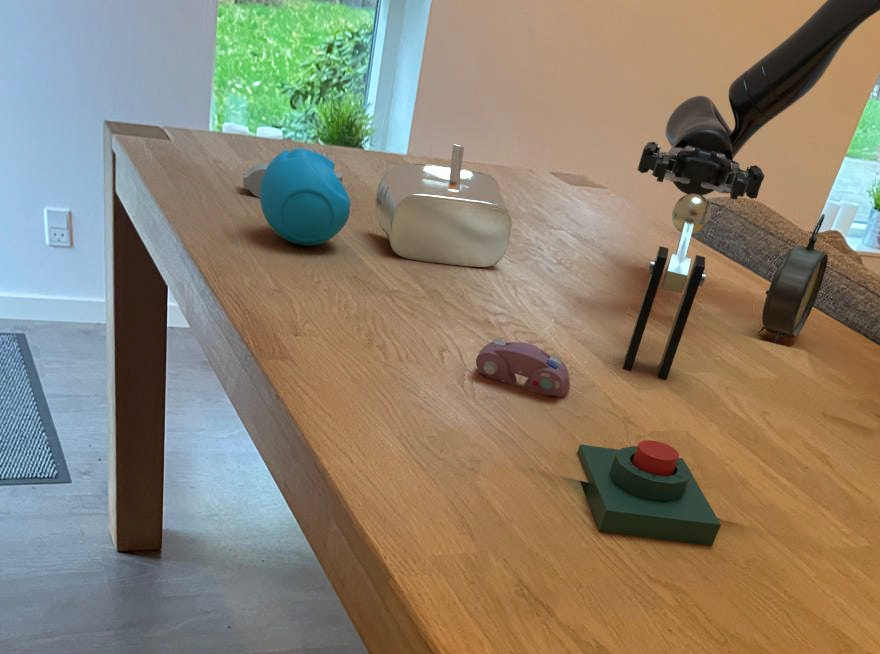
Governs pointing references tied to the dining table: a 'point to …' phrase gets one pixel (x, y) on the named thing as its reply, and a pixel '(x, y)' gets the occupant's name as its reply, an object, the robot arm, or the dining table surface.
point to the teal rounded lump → (303, 197)
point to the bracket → (681, 317)
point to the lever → (685, 237)
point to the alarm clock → (794, 289)
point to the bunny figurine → (255, 176)
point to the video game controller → (524, 367)
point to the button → (655, 458)
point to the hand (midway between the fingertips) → (699, 180)
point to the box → (645, 499)
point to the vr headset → (444, 214)
